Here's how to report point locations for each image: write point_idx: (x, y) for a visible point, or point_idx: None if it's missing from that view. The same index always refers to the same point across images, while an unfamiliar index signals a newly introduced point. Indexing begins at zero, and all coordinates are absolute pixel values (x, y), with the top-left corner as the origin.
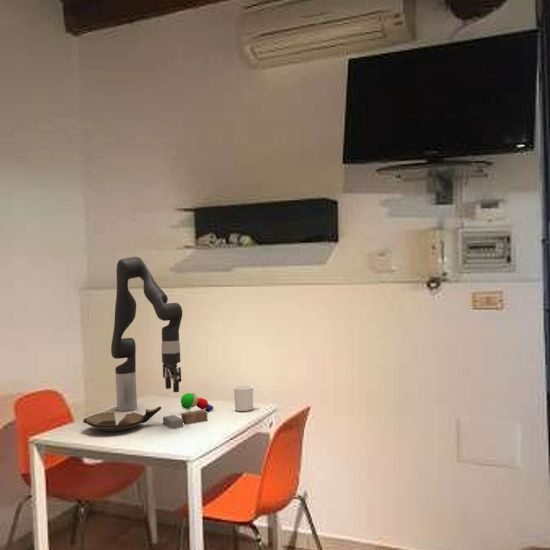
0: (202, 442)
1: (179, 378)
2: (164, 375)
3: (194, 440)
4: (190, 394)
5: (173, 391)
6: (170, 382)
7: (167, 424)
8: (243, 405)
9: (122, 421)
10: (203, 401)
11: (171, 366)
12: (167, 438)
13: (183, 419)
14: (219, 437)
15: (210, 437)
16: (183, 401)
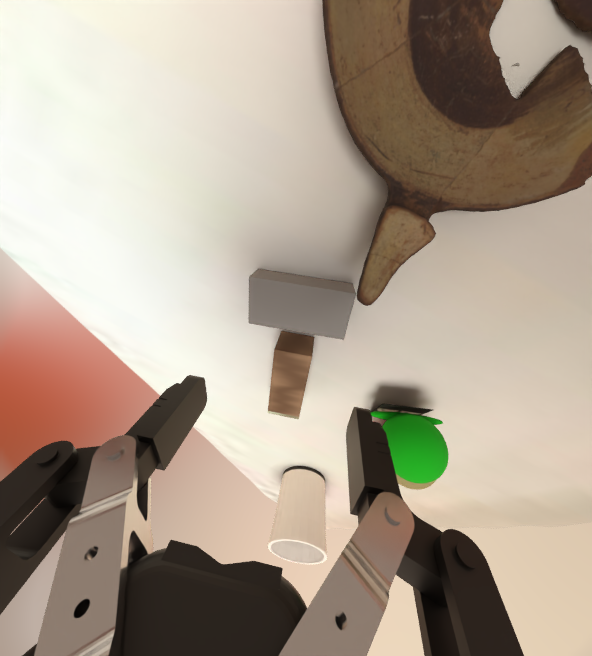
0: (46, 254)
1: (53, 513)
2: (444, 572)
3: (76, 247)
4: (404, 474)
5: (198, 378)
6: (349, 478)
7: (303, 278)
8: (283, 486)
9: (563, 89)
10: None
11: None
12: (136, 181)
13: (295, 341)
14: (86, 317)
15: (95, 300)
16: (407, 430)
